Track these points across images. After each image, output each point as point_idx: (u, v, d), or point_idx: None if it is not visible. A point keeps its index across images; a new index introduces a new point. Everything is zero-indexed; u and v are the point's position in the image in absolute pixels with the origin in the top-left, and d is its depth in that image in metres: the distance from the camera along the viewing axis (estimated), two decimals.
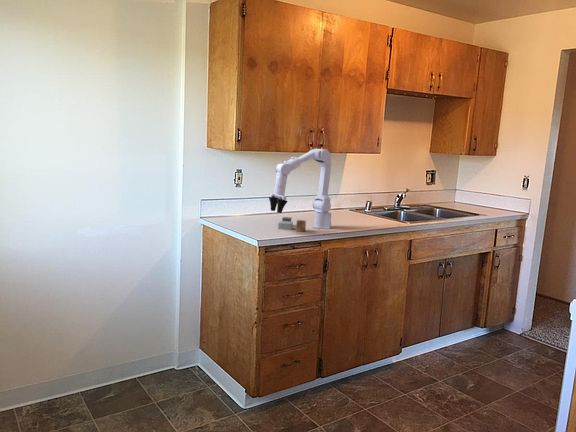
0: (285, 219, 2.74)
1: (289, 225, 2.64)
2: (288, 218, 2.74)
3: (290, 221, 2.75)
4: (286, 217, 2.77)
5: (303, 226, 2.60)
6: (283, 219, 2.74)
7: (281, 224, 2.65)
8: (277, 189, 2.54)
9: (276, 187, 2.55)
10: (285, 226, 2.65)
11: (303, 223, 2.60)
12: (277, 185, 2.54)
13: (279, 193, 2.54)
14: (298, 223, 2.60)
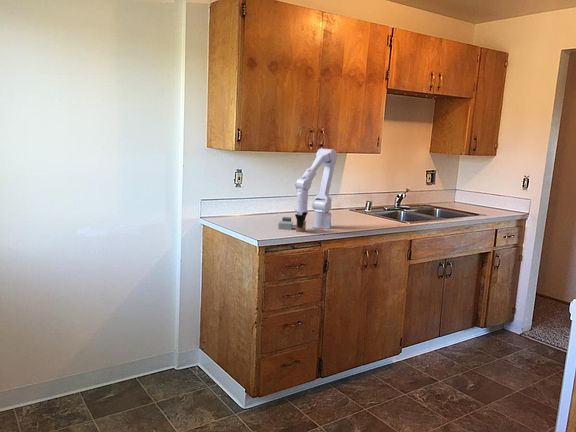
0: (285, 219, 2.74)
1: (289, 225, 2.64)
2: (288, 218, 2.74)
3: (290, 221, 2.75)
4: (286, 217, 2.77)
5: (303, 226, 2.60)
6: (283, 219, 2.74)
7: (281, 224, 2.65)
8: (297, 204, 2.59)
9: (297, 202, 2.60)
10: (285, 226, 2.65)
11: (303, 223, 2.60)
12: (301, 201, 2.58)
13: (299, 208, 2.58)
14: None
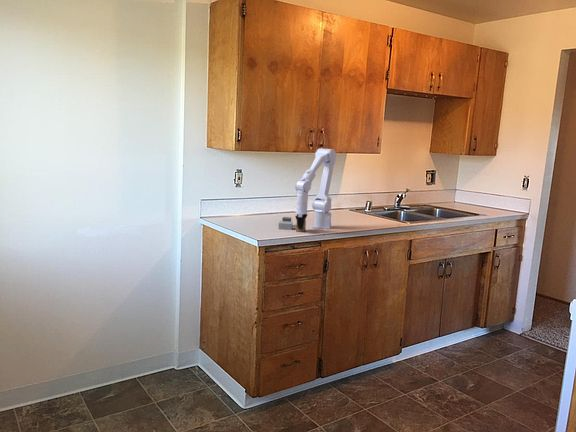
0: (285, 219, 2.74)
1: (289, 225, 2.64)
2: (288, 218, 2.74)
3: (290, 221, 2.75)
4: (286, 217, 2.77)
5: (303, 226, 2.60)
6: (283, 219, 2.74)
7: (281, 224, 2.65)
8: (297, 206, 2.59)
9: (297, 204, 2.60)
10: (285, 226, 2.65)
11: None
12: (300, 203, 2.58)
13: (299, 210, 2.59)
14: None
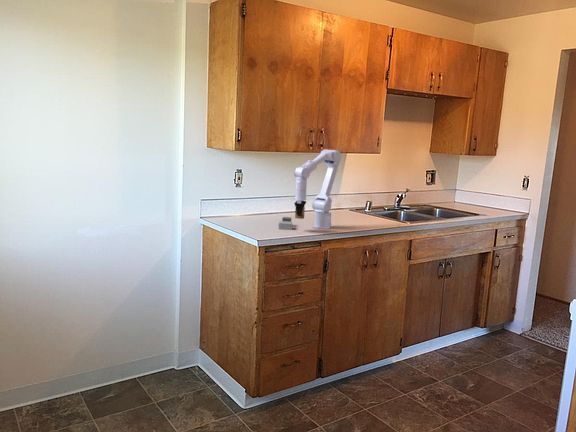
0: (285, 219, 2.74)
1: (290, 225, 2.65)
2: (288, 218, 2.74)
3: (290, 221, 2.75)
4: (286, 217, 2.77)
5: (302, 213, 2.59)
6: (283, 219, 2.74)
7: (281, 224, 2.65)
8: (296, 193, 2.59)
9: None
10: (286, 226, 2.65)
11: None
12: (299, 189, 2.57)
13: (298, 197, 2.58)
14: None
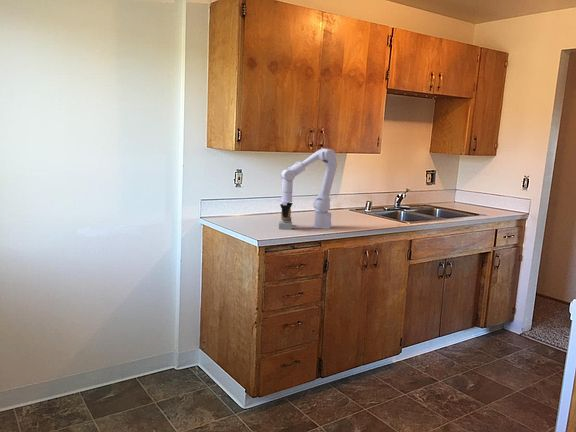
0: None
1: (290, 225, 2.65)
2: None
3: (290, 221, 2.75)
4: None
5: (288, 214, 2.65)
6: None
7: (282, 224, 2.65)
8: (282, 195, 2.64)
9: None
10: (286, 226, 2.65)
11: None
12: (283, 191, 2.63)
13: (284, 199, 2.63)
14: None
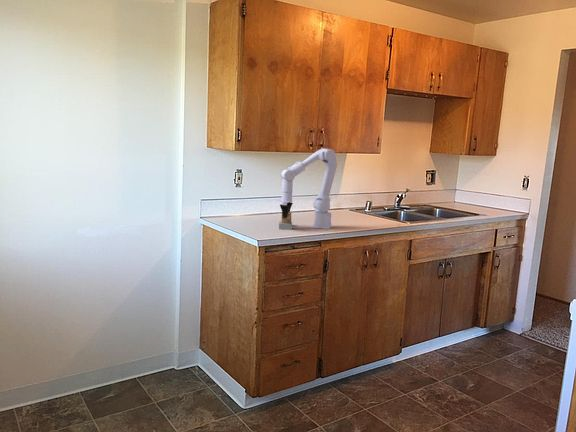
0: None
1: (290, 225, 2.65)
2: None
3: None
4: None
5: (288, 218, 2.65)
6: None
7: (282, 224, 2.65)
8: (282, 195, 2.64)
9: None
10: (286, 226, 2.65)
11: (288, 215, 2.65)
12: (283, 191, 2.63)
13: (284, 199, 2.63)
14: None
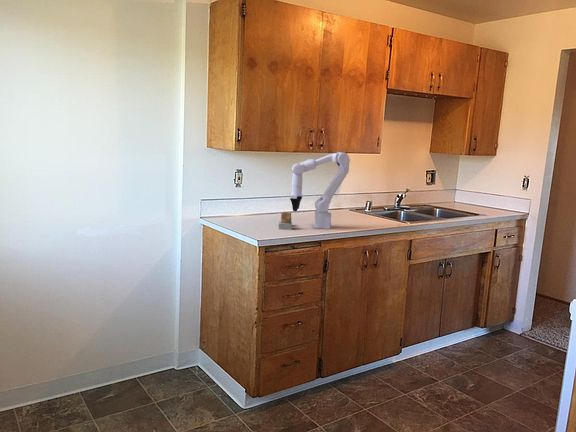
0: None
1: (290, 225, 2.65)
2: None
3: None
4: None
5: (288, 217, 2.65)
6: None
7: (281, 224, 2.65)
8: (292, 189, 2.69)
9: (292, 187, 2.70)
10: (286, 226, 2.65)
11: (288, 214, 2.65)
12: (292, 185, 2.69)
13: (294, 192, 2.69)
14: (283, 214, 2.65)
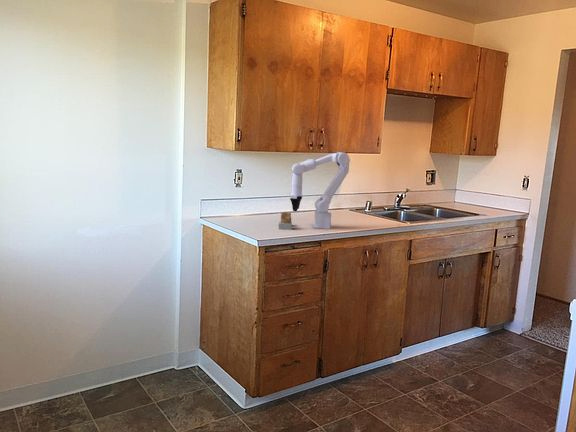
0: None
1: (289, 225, 2.65)
2: None
3: None
4: None
5: (287, 218, 2.65)
6: None
7: (281, 224, 2.65)
8: (292, 189, 2.69)
9: (292, 187, 2.70)
10: (285, 226, 2.65)
11: (287, 215, 2.65)
12: (292, 185, 2.69)
13: (294, 192, 2.69)
14: (283, 215, 2.65)
